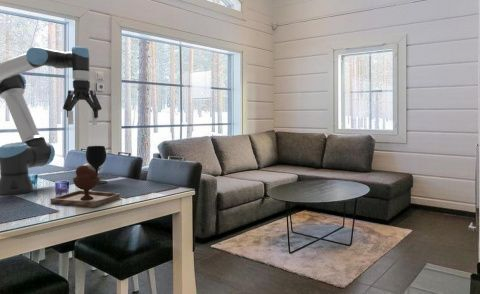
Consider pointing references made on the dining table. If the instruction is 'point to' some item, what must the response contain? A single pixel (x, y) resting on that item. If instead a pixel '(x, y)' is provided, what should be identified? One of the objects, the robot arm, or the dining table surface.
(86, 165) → the elephant figurine
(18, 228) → the dining table surface
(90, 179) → the ice cream bowl
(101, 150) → the wine glass
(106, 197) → the tray
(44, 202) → the dining table surface
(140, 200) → the dining table surface
